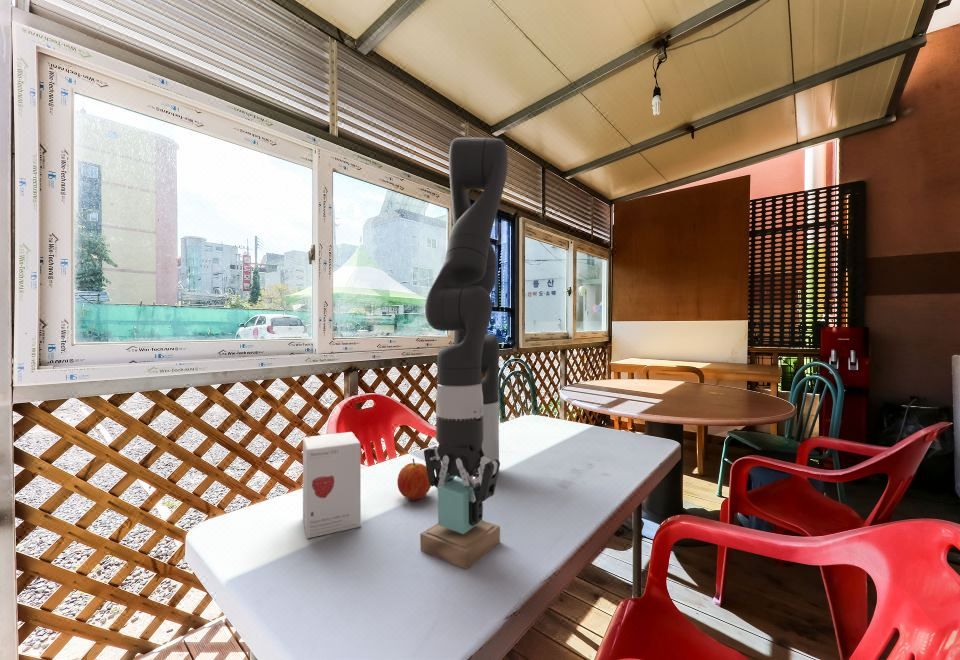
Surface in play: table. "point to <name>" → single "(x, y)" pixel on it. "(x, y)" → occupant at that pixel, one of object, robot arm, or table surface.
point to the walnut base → (460, 543)
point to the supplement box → (331, 483)
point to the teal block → (454, 506)
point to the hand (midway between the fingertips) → (460, 518)
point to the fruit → (413, 481)
